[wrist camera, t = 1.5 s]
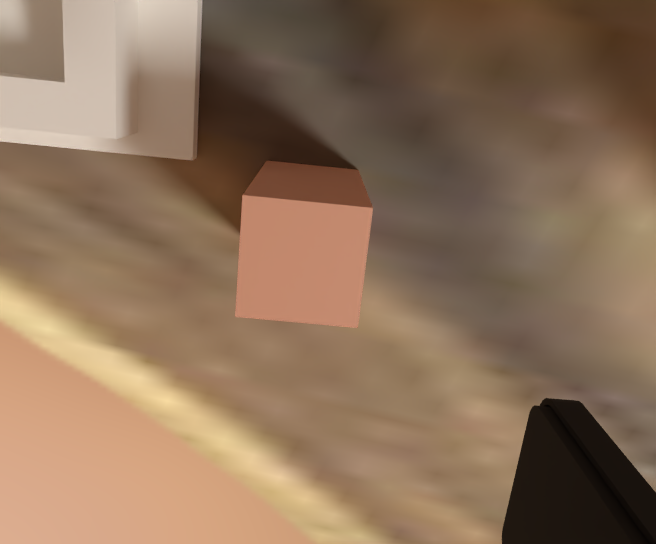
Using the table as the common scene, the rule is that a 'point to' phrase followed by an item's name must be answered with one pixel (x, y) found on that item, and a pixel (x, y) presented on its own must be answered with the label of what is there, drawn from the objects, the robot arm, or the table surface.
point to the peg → (303, 245)
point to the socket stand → (101, 75)
